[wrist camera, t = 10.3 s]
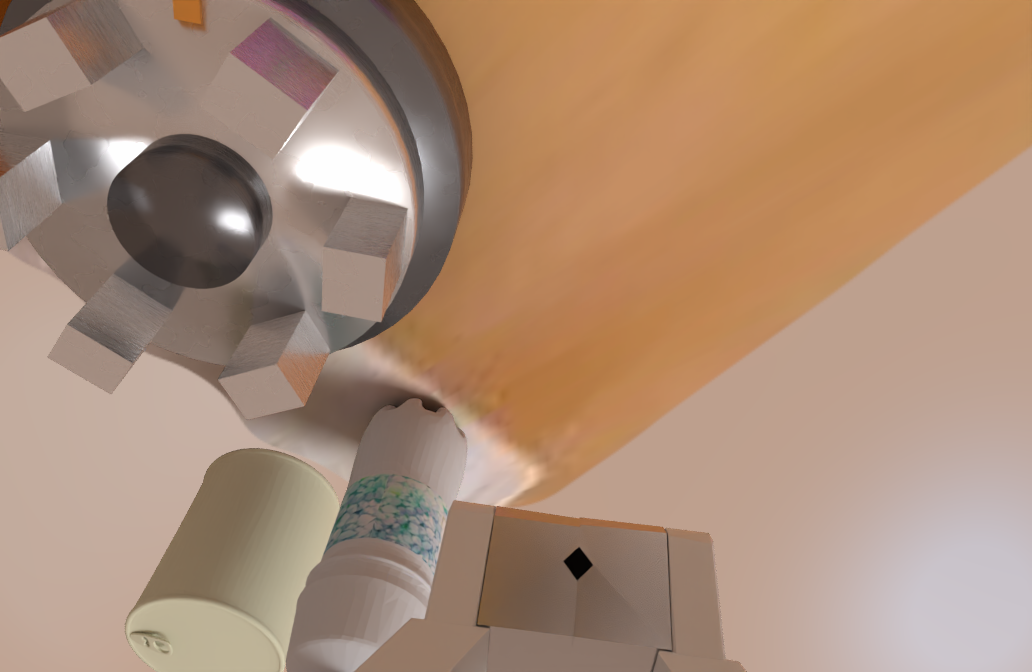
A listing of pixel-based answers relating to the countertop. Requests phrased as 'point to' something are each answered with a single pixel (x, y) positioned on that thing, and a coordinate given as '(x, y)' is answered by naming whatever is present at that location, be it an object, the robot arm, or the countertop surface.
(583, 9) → the countertop surface
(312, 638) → the bottle
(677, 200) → the countertop surface
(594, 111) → the countertop surface
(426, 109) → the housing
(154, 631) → the can
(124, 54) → the toothed metal gear
